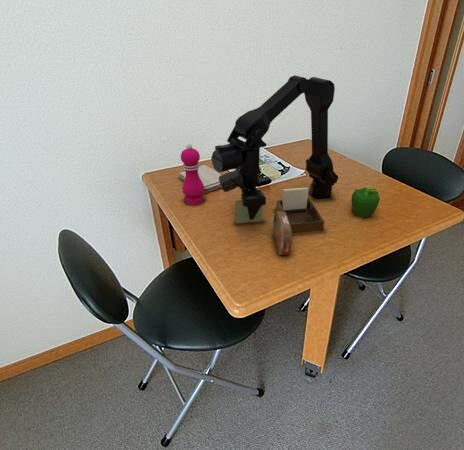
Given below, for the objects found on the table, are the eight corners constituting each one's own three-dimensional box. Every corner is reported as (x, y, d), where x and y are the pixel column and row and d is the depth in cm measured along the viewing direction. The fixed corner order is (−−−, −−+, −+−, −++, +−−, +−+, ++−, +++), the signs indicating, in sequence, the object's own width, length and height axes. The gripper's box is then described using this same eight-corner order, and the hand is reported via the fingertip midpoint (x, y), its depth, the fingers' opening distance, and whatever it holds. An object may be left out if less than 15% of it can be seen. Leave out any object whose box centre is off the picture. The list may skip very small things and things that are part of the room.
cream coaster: (281, 211, 110) (283, 189, 105) (305, 209, 111) (307, 187, 106) (282, 212, 109) (283, 190, 104) (306, 210, 110) (308, 188, 106)
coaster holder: (276, 210, 111) (276, 200, 109) (307, 207, 113) (308, 197, 111) (287, 235, 99) (288, 224, 97) (322, 232, 101) (324, 221, 99)
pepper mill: (201, 206, 113) (196, 149, 102) (180, 204, 114) (173, 147, 103) (207, 196, 119) (203, 141, 108) (188, 194, 120) (182, 139, 109)
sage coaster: (235, 223, 104) (235, 200, 100) (261, 220, 106) (262, 198, 101) (236, 225, 104) (235, 202, 99) (261, 222, 105) (262, 200, 100)
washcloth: (203, 195, 119) (202, 187, 118) (177, 178, 131) (176, 170, 129) (230, 185, 126) (230, 178, 124) (203, 170, 137) (203, 162, 135)
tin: (272, 229, 102) (273, 205, 97) (282, 229, 102) (284, 204, 97) (280, 261, 89) (281, 235, 85) (291, 261, 90) (294, 234, 85)
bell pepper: (344, 214, 109) (349, 187, 104) (355, 205, 114) (360, 178, 109) (368, 224, 105) (375, 195, 99) (379, 213, 110) (386, 186, 104)
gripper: (216, 152, 100) (219, 199, 109) (223, 180, 85) (225, 231, 94) (253, 150, 102) (253, 196, 111) (267, 177, 87) (265, 227, 95)
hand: (248, 211), depth 102 cm, fingers open, 8 cm apart
